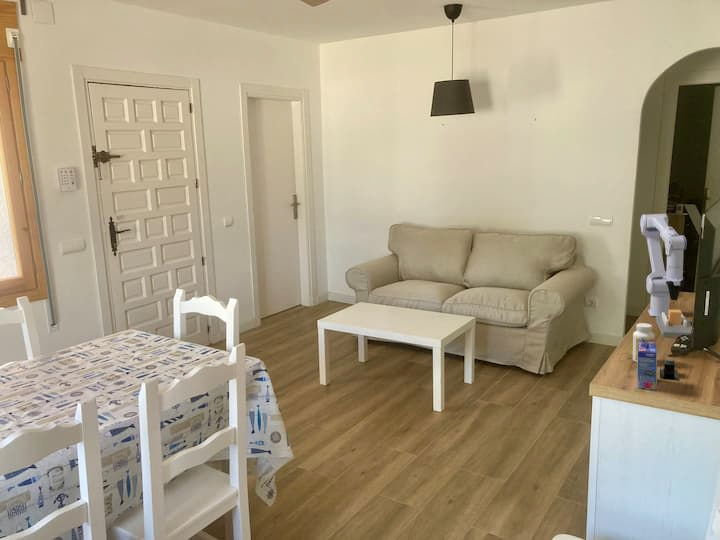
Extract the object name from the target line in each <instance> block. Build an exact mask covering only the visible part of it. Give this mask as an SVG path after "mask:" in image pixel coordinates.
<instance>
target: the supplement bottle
mask: <svg viewBox="0 0 720 540" xmlns="http://www.w3.org/2000/svg"><path fill="white" fill-rule="evenodd" d="M652 329H653V326H652V324H649V323H645V322H639V323H637V324H636V330H635V331H634V332H633V333H632V361H634V362H635V363H637V346H638V341H642V338H643V339H644V340H645V341H646V342H656V338H655V337H656V335H655V333H654V332H652Z"/></svg>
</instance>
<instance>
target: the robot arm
mask: <svg viewBox="0 0 720 540" xmlns="http://www.w3.org/2000/svg"><path fill="white" fill-rule="evenodd" d="M639 225H640V231H641V232H640V233H641V235H642V236H644V237H645V238H646V242H647V249H648V256H649V260H650V266H651V273H650V274H648V275H647V277H646V279H645V280H646V284H645V285H646V291H647V293H648V294H650V304H649V305H650V306H649V307H650V308H649V309H647V312H648V315H649V316H650V317H656V316H662V312H664V313H665V315H666V316H668V313H669V310H670V300H671V301H678V299H679V295H680V292H681V289H682V288H683V286H684V283H683V282H682V281H683V280H684V276H683V274H684V251H685V250H686V249H687V245H688V244H687V239H686V237H685V235H680V234H679V233H678V232H677V231H676V230H675V228H673V226H669V217H668V215H667V213H656V214H653V213H651V214H645V213H644V214H642V215H641V217H640V220H639ZM660 238H661V239H662V241H663V242H664V248H665V255H666V269H665V265H664V260H663V252H662V247H661V241H660V240H661V239H660Z"/></svg>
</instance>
